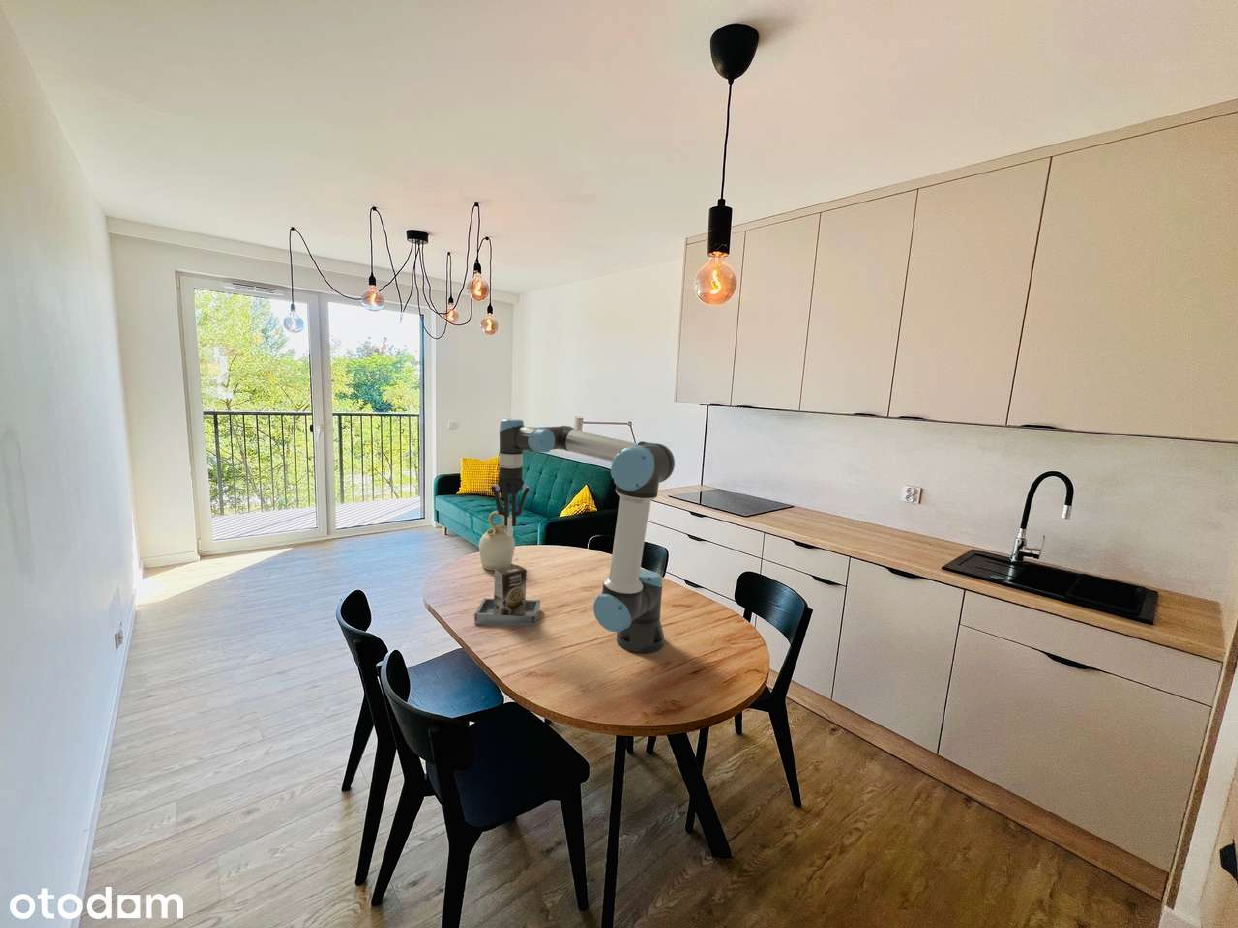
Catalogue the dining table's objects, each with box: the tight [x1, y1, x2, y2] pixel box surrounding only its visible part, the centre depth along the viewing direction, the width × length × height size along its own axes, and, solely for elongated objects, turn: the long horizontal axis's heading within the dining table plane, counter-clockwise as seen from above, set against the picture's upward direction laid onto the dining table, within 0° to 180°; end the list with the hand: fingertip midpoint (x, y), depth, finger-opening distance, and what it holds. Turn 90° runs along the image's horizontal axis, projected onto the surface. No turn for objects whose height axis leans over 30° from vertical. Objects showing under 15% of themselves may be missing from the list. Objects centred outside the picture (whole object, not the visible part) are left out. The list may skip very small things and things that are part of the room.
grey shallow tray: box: [473, 597, 541, 627], centre depth 171 cm, size 20×12×4 cm, turn 91°
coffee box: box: [493, 564, 528, 614], centre depth 170 cm, size 9×6×16 cm
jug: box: [478, 510, 516, 572], centre depth 217 cm, size 15×16×25 cm
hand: (510, 535), depth 167 cm, fingers closed
